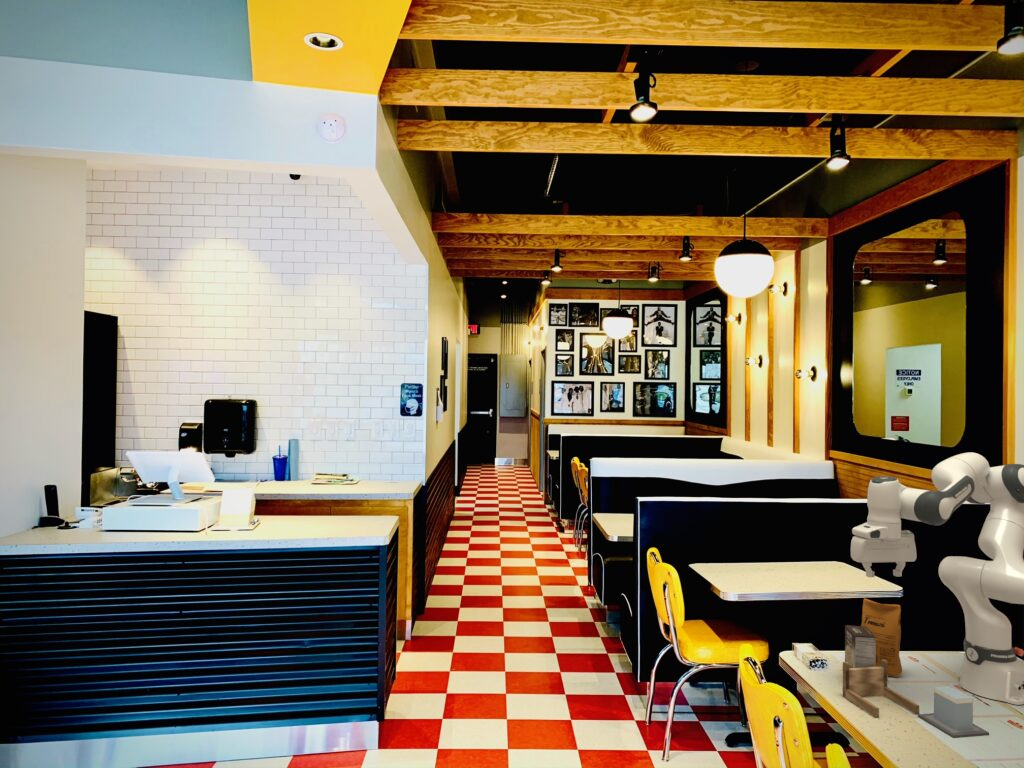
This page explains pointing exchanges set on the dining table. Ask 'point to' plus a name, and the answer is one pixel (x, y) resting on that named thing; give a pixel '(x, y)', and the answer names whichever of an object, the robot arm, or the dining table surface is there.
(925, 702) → the dining table surface
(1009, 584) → the robot arm
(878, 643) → the coffee package
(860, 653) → the coffee box
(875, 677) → the wooden stand
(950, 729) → the mat
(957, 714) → the block
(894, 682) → the dining table surface
